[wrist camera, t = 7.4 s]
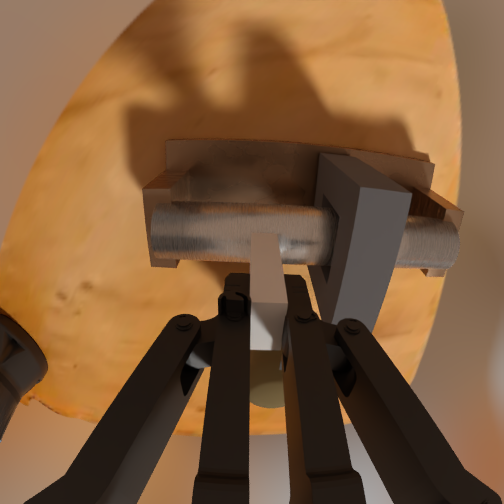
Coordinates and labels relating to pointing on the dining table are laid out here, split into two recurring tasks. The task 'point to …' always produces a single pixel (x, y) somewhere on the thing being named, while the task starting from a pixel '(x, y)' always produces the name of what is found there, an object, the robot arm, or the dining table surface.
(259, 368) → the cork
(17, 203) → the dining table surface
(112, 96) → the dining table surface
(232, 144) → the pipe rig
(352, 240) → the collar
